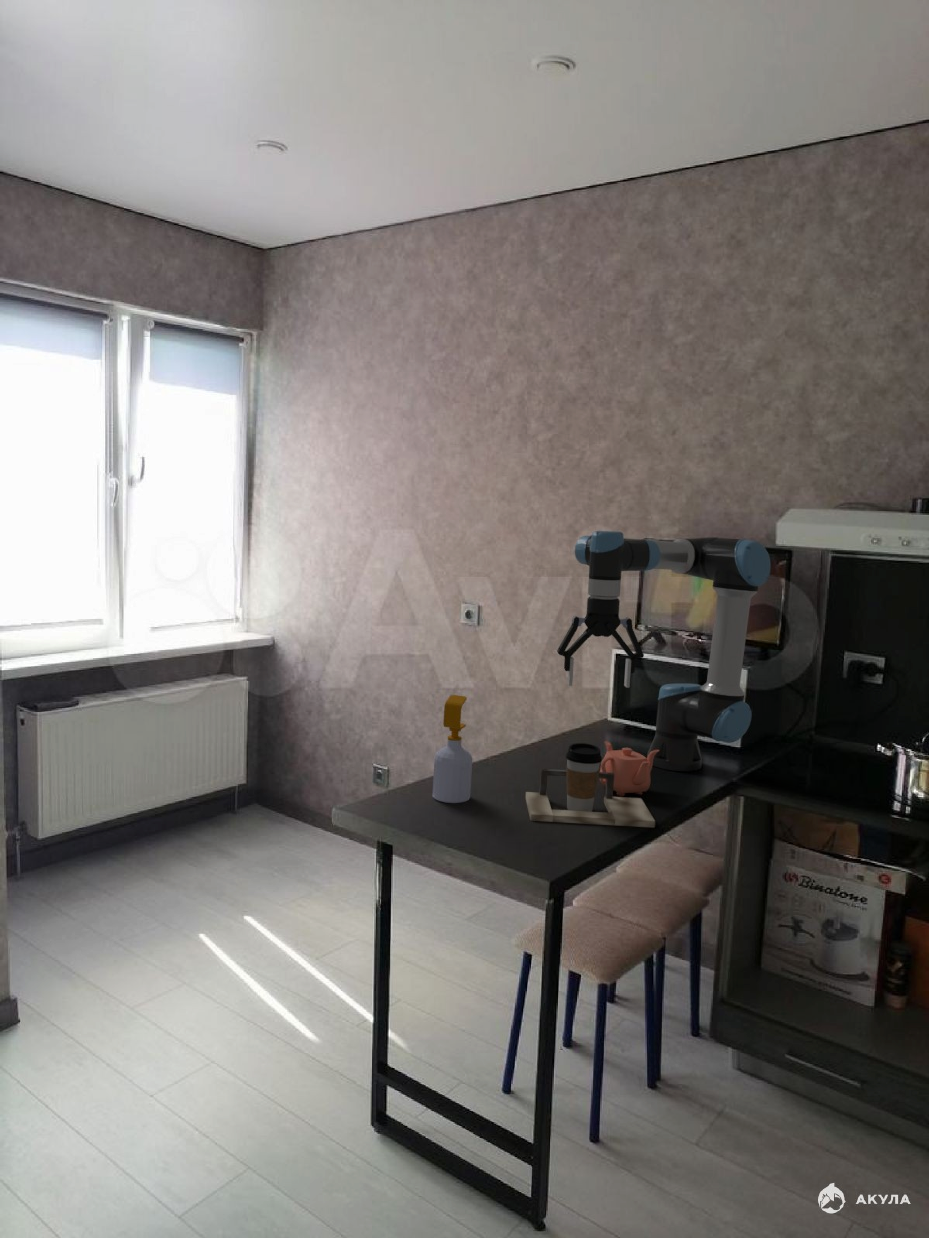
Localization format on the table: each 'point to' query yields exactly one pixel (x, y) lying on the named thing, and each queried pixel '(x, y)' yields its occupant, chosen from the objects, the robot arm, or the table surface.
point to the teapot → (627, 770)
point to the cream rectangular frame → (618, 808)
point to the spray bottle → (452, 759)
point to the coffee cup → (582, 776)
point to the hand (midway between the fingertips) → (598, 685)
